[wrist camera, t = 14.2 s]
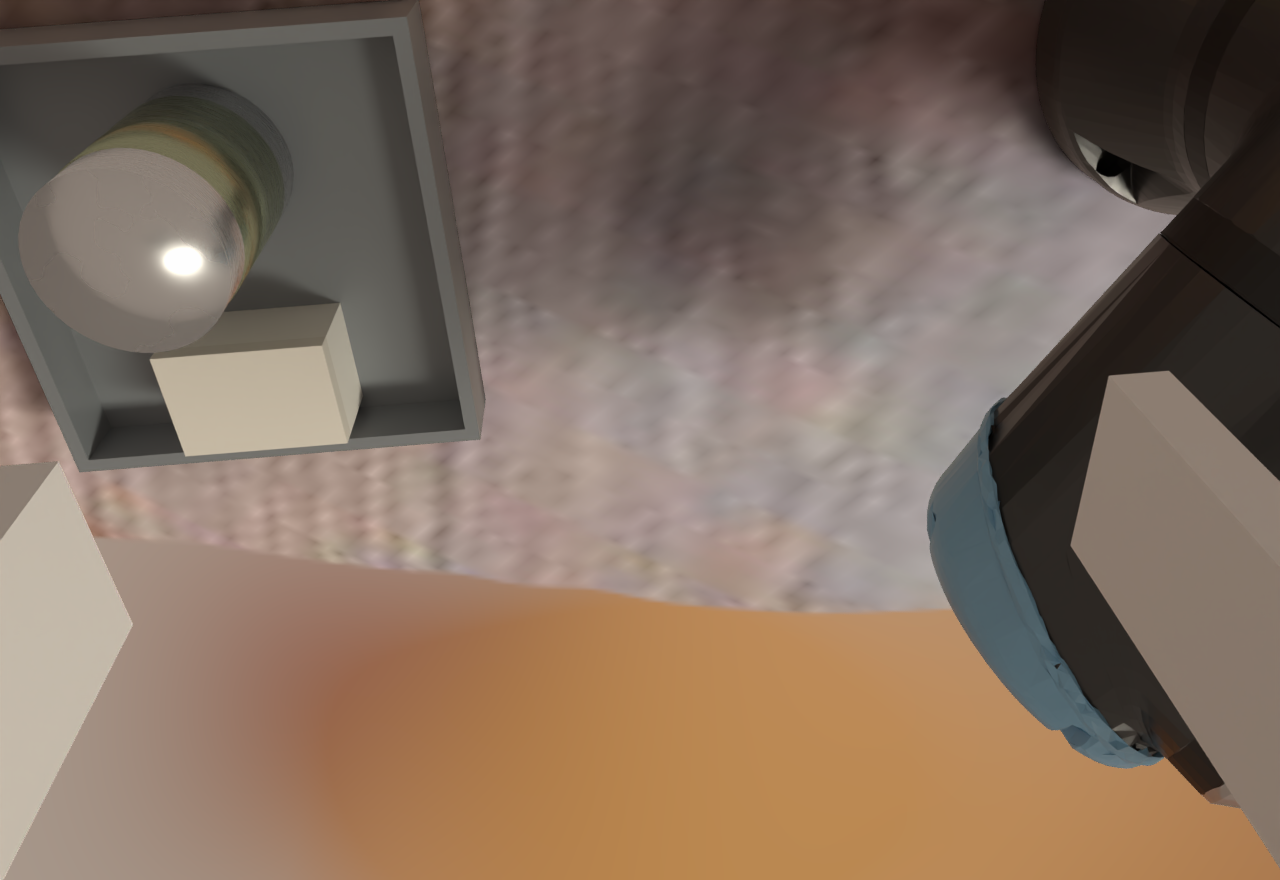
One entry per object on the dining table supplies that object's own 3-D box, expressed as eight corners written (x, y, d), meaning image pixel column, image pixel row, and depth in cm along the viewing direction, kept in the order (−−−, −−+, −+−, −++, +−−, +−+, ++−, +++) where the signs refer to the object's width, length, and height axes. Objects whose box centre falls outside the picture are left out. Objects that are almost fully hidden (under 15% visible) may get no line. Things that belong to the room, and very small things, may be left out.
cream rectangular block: (340, 302, 45) (321, 345, 42) (362, 396, 48) (347, 443, 44) (180, 315, 45) (149, 359, 41) (212, 407, 47) (185, 456, 44)
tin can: (310, 235, 43) (252, 347, 35) (154, 245, 43) (58, 360, 35) (274, 77, 39) (200, 160, 31) (103, 86, 39) (-17, 173, 31)
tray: (418, -2, 39) (406, 16, 36) (485, 399, 49) (480, 439, 46) (-56, 33, 39) (-106, 54, 36) (108, 430, 49) (79, 472, 46)
